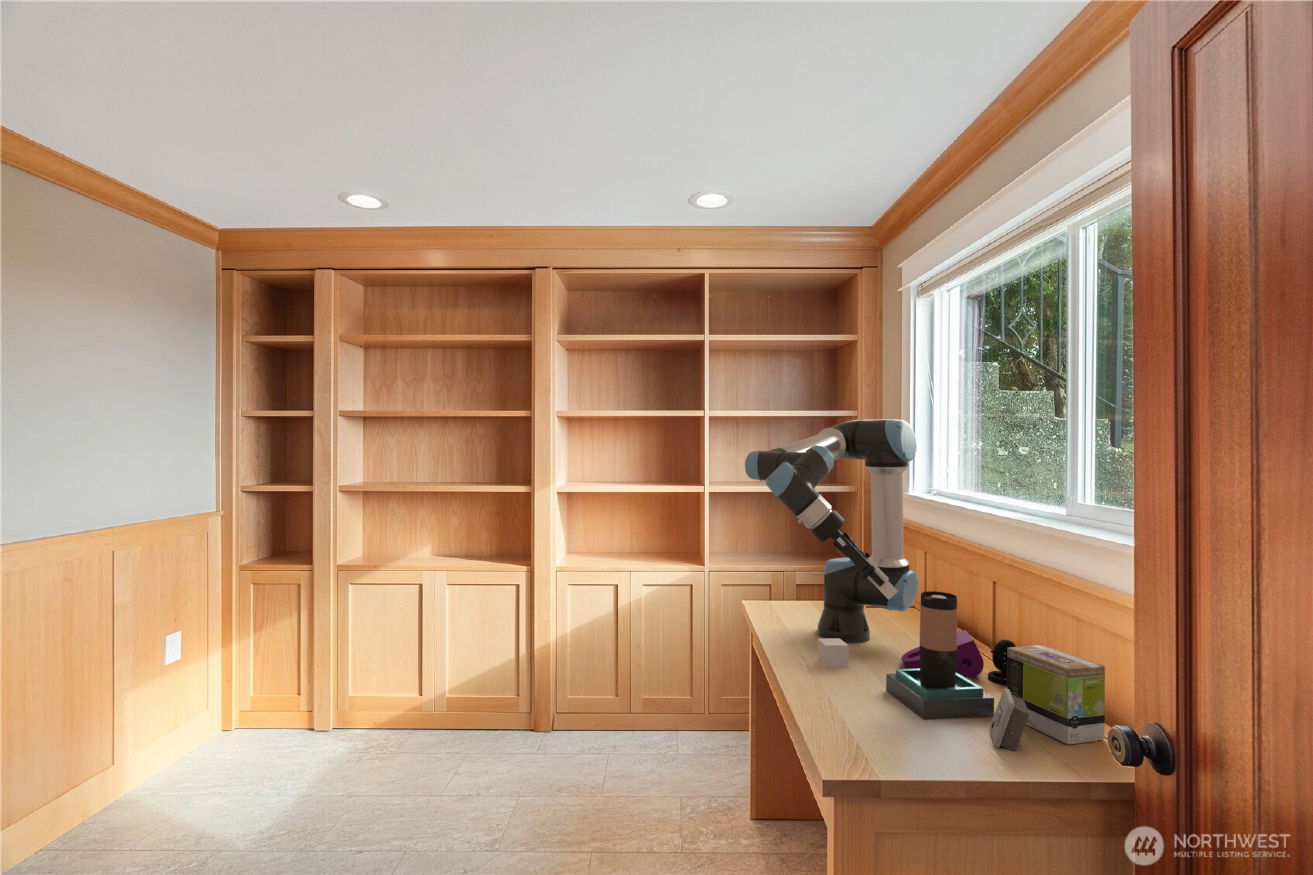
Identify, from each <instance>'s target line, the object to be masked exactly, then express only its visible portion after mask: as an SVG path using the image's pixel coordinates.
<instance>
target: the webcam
mask: <svg viewBox="0 0 1313 875" xmlns="http://www.w3.org/2000/svg"><path fill="white" fill-rule="evenodd" d="M1009 647H1017V645H1016V644H1015V642H1013V641H1011V640H1009V639H1001V640H999V641H998V642H997V643H996V644H995V645H994V647H993V649H990V653H991V656H992V657H991V658H992V663H993V665H994V667H995V669H997V670H991V671H989V672H988V673H987V678H988V679H989V680H990V681H991V682H994V683H995V684H998V685H1003V686H1007V648H1009Z"/></svg>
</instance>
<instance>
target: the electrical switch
mask: <svg viewBox="0 0 1313 875" xmlns="http://www.w3.org/2000/svg"><path fill="white" fill-rule="evenodd" d="M1025 710H1026V711H1025ZM1028 716H1029V712H1028V709H1027V707H1026V704H1025V702H1024V700H1023V699H1020V698H1018V697H1016V696H1014V695H1011V693H1010V690H1009V689H1007V687H1005V688H1004V689H1003V690H1002V693H1001V695H1000V698H999V700H998V703H997V706H996V709H995V710H994V717H992V719H991V722H990V727H989V731H990V736H991V741H992V744H993V747H994V748H996V749H997V750H999V749H1000V747H1001V746H1002V747H1003V748H1005V749H1009V750H1011V751H1014V752H1016V751H1017V749H1018V746H1019V743H1020V741H1021V739H1022V735H1023V732H1024V729H1025V726H1026V722H1027V719H1028Z"/></svg>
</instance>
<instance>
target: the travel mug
mask: <svg viewBox="0 0 1313 875" xmlns="http://www.w3.org/2000/svg"><path fill="white" fill-rule="evenodd" d="M919 609H920V616H919V647H920V668H919V669H920V683H921V684H923V685H924V686H925V687H927V688H955V678H956V658H957V633H958V596H957V595H956V594H952V593H949V592H943V591H935V590H934V591H931V590H930V591H928V590H927V591H922V592H921V593H920V608H919Z"/></svg>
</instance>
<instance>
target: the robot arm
mask: <svg viewBox="0 0 1313 875" xmlns="http://www.w3.org/2000/svg"><path fill="white" fill-rule="evenodd" d="M917 445H918V444H917V438H916V434H915V432H914V429H913V428H912V426H911V424H910V423H909V422H908V421H906V420H904V419H894V418H893V419H892V418H889V419H884V418H883V419H856V420H855V419H853V420H848V421H845V422H840V423H838V424H835V425H832V426H829V427H825V428H823V429H822V430H820V431H819V433H818V434H816V435H813V436H810V437H807V438H803V439H800V440H797V441H794V442H791V443H788V444H786V445H783V446H779V447H776V448H772V449H769V450H764V451H763V450H757V451H756V450H754V451H751V452H749V453H748V454H747V456H746V457H745V460H744V470H745V473H746V475H747V476H748V478H750V479H751V480H756V481H757V480H758V481H760V482H762V481H763V482H765V485H766V486H767V488H768V489H769V490H770V491H771V493H772V494H773V495H774V496H775V497H776V498H777V499H778V500H779V501H780V502H781V503H782V504H783V505H784V506H785V507H786V508H787V509H788V510H789V511H791V513H792V514H793V515H794V516H795V517H796V518H797V519H798V520H797V522H798V524H803V525H804V527H805V528H807V529H810V532H811V534H812V535H813V536H814V537H815V538H816V539H817V541H819V542H820V543H823V542H826V541H827V540H828V539H830V538H831V539H832V540H833V542H832V544H833V545H834V547H835V548H836V549H837V550H838V551H840V552H841V553H842V555H844V556H845V557H836V558H830V559H828V560H827V561H826V562H825V563H824V569H823V570H824V571H823V609H822V612H821V614H820V618H819V620H818V622H817V623H818V624H817V635H818V636H820V637H821V638H822V639H827V638H840V639H841V640H842V641H844V642H845V643H862V642H866V641H868V640H870V638H871V633H870V632H871V630H870V628H869V622H868V620H867V617H866V614H865V606H869V607H874V608H879V609H884V610H887V611H890V612H891V611H896V612H905V611H907V610H908V609H910V608H911V607H912V605H913V603H914V601H915V599H916V596H917V592H918V588H919V578H918V575H917V573H916V572H915V571H913V570H911V568H910V561H908V559H906V558H905V556H904V554H905V553H904V548H905V547H904V546H905V545H904V488H903V487H904V483H903V482H904V480H903V479H904V477H903V475H904V472H905V471H907V469H908V468H909V462H912V461H913V460H914V459H915V458H916V455H917V454H916V452H917V449H918V448H917ZM840 459H842V460H843V459H844V460H845V459H846V460H847V459H849V460H861V461H863V460H864V467H865V468H866V469H867V470H868V471H869V473H870V505H871V506H870V507H871V509H870V510H871V513H870V515H871V523H870V524H871V555H870V553H869V552H864V551H863V550H861V548H860V547H858V545H857V544H856V542H855V541H854V540H853V539H852V537H851V536H850V535H849V534H848V533H847V532H846V531H844V532H843V531H842V529H841V528H842V526H843V525H844V524H845V518H844V517H842V515H841V514H839V513H838V512H837V510H836V509H832V505H831V504H830V503H829V502H828V501H827V500H826V499H825V498H824V497H823V495H821V494H820V493H819V492H818V491H817V490H816V487H817V486H818V485H819V484H820V483H821V482H822V481H823V480H824V479H825V478H826V477H828V476H829V473H830V471H831V470H832V469H833V468H834V465H835V461H837V460H840Z"/></svg>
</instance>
